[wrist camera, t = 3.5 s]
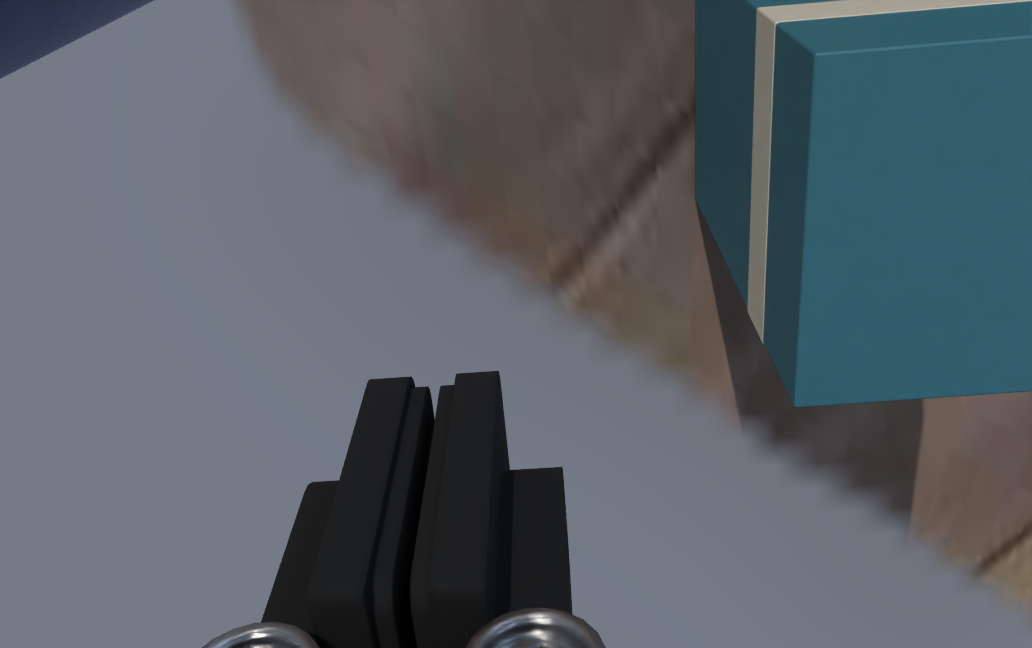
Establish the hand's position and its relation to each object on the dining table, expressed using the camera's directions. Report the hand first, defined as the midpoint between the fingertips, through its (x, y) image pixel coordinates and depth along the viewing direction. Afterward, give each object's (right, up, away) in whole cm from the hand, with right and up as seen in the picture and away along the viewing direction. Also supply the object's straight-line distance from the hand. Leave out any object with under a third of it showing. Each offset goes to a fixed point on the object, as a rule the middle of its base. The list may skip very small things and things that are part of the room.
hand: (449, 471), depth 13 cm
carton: (+9, +9, +16) cm, 20 cm away
